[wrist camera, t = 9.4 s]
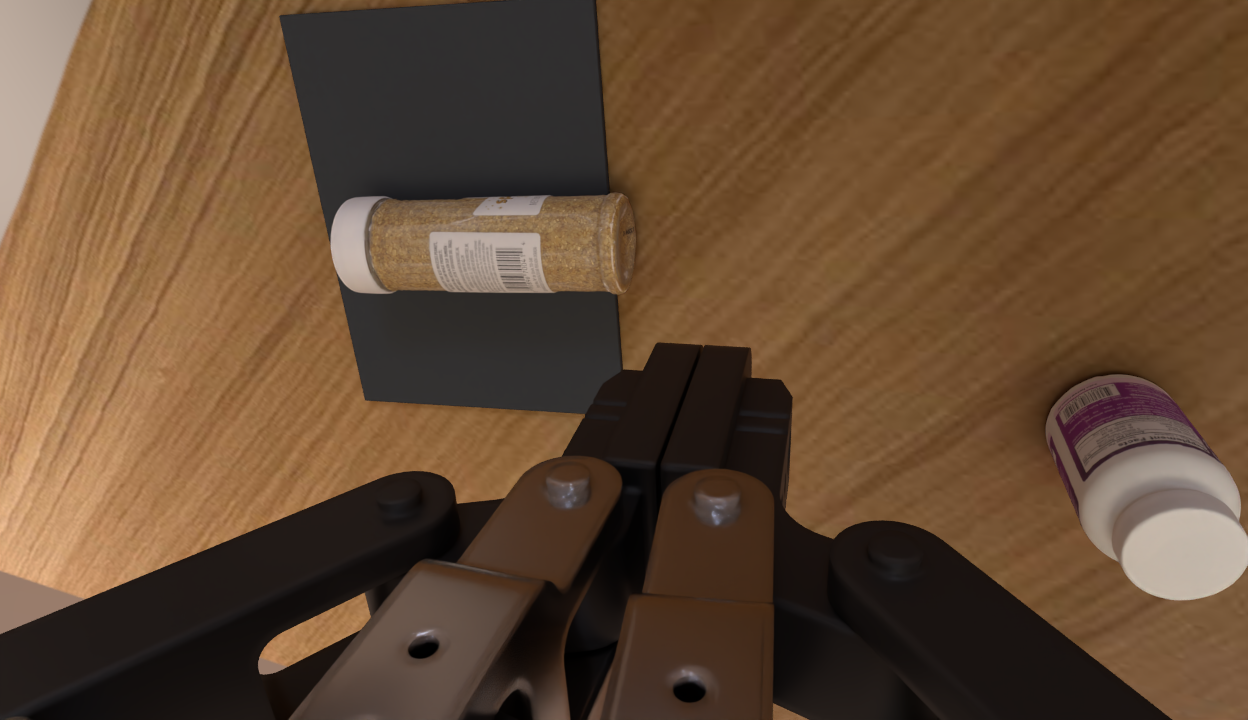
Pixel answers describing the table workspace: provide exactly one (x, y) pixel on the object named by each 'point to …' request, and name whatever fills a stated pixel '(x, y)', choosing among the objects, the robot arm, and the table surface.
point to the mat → (463, 184)
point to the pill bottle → (1148, 487)
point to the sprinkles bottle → (485, 244)
